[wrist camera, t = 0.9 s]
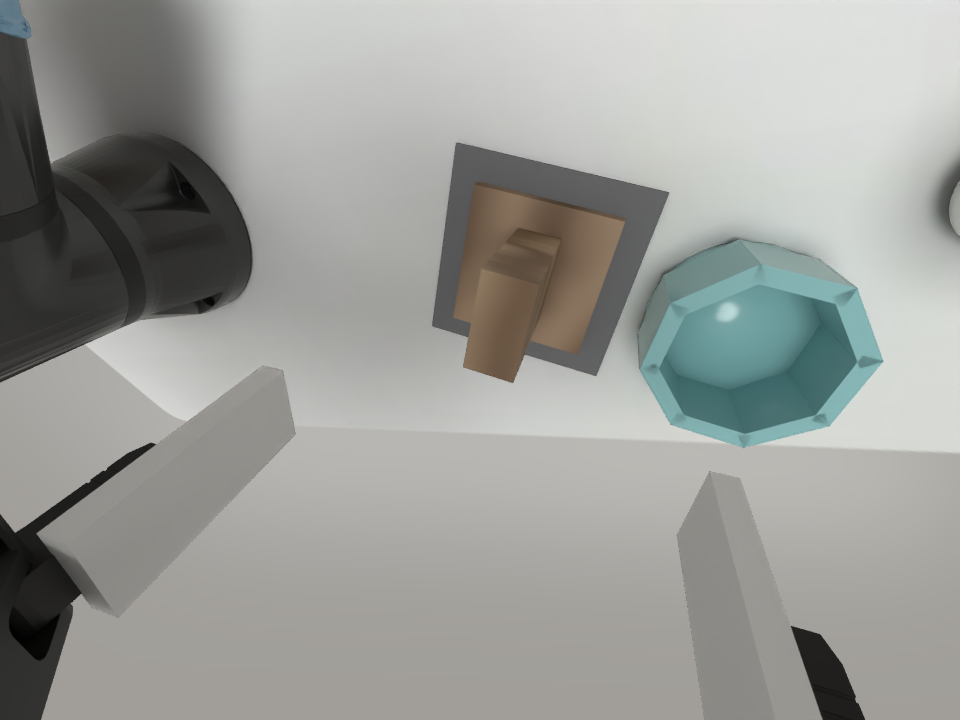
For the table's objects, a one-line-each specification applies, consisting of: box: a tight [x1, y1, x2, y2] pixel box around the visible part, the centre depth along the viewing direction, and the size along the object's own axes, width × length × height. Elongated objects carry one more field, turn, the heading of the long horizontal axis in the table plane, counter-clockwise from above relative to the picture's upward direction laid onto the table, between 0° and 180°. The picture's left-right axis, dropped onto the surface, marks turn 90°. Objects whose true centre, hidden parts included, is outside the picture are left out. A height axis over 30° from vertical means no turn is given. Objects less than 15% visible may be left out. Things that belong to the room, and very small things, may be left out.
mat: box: [432, 143, 669, 376], centre depth 31 cm, size 14×14×1 cm
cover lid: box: [453, 182, 625, 383], centre depth 27 cm, size 10×10×10 cm
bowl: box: [637, 239, 883, 448], centre depth 27 cm, size 11×11×6 cm
